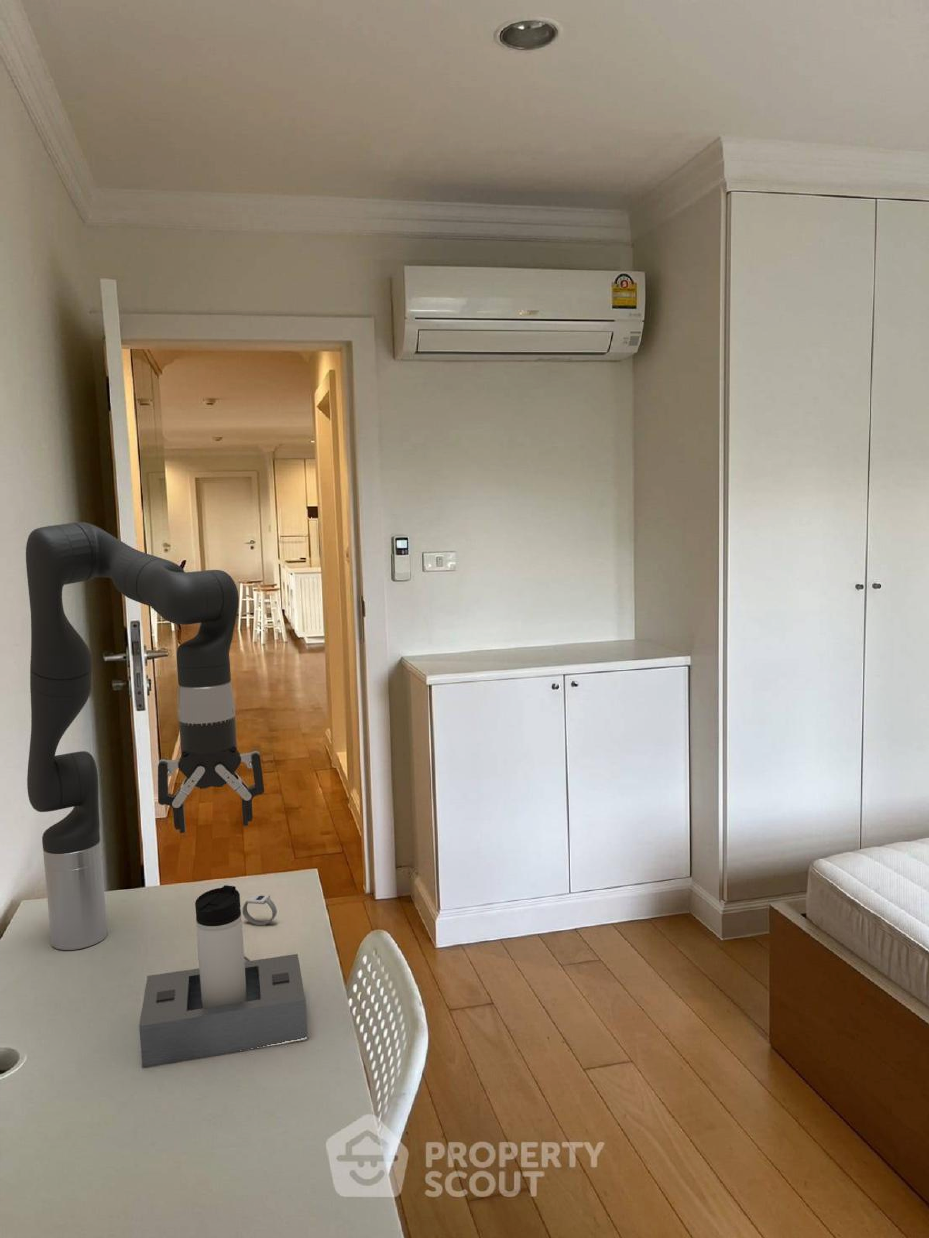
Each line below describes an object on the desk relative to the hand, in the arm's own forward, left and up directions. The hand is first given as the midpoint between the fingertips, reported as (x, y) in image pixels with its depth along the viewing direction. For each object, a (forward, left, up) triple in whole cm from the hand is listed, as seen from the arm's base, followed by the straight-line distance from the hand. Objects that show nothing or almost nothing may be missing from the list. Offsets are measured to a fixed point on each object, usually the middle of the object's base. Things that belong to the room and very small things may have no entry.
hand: (214, 827), depth 130 cm
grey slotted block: (0, 0, -30) cm, 30 cm away
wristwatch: (-33, +6, -30) cm, 45 cm away
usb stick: (-18, +2, -30) cm, 36 cm away
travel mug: (0, 0, -30) cm, 30 cm away
